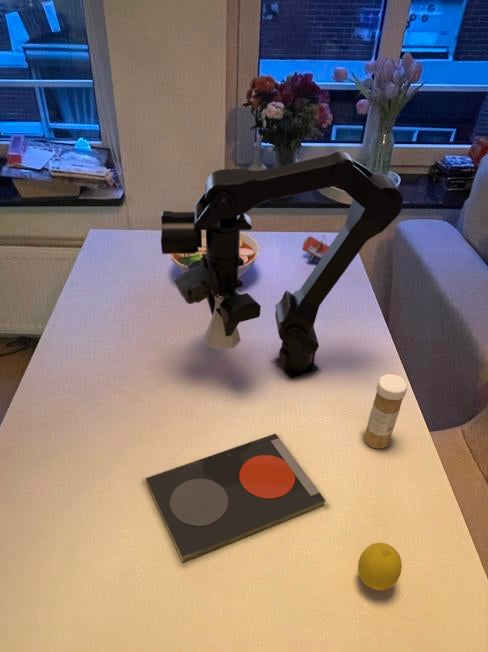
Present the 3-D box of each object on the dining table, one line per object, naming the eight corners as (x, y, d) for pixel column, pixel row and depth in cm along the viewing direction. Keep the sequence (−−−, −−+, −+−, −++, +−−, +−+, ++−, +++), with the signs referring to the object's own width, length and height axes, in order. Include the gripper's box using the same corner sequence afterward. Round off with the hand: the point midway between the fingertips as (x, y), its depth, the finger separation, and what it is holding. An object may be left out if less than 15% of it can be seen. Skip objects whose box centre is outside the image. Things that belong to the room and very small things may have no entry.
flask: (237, 352, 99) (238, 306, 92) (200, 348, 100) (198, 302, 94) (244, 331, 104) (245, 286, 98) (208, 327, 106) (207, 282, 99)
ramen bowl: (260, 301, 125) (262, 270, 120) (164, 300, 125) (162, 269, 120) (257, 252, 143) (258, 223, 138) (173, 251, 143) (171, 222, 138)
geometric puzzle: (338, 249, 140) (323, 224, 137) (334, 261, 135) (319, 235, 132) (315, 261, 144) (300, 236, 141) (310, 273, 140) (295, 248, 136)
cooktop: (274, 438, 93) (275, 432, 92) (324, 504, 83) (325, 499, 82) (146, 482, 86) (145, 476, 85) (182, 562, 75) (182, 556, 74)
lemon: (349, 565, 75) (359, 533, 69) (386, 562, 75) (400, 530, 70) (359, 601, 71) (371, 571, 65) (399, 598, 71) (414, 568, 66)
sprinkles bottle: (378, 428, 95) (395, 370, 86) (394, 444, 92) (414, 386, 83) (357, 435, 94) (373, 377, 84) (373, 453, 91) (391, 394, 81)
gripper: (159, 238, 93) (165, 313, 104) (201, 287, 81) (203, 366, 92) (216, 227, 97) (216, 300, 108) (264, 273, 85) (259, 350, 96)
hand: (222, 328), depth 101 cm, fingers closed on flask, 5 cm apart
